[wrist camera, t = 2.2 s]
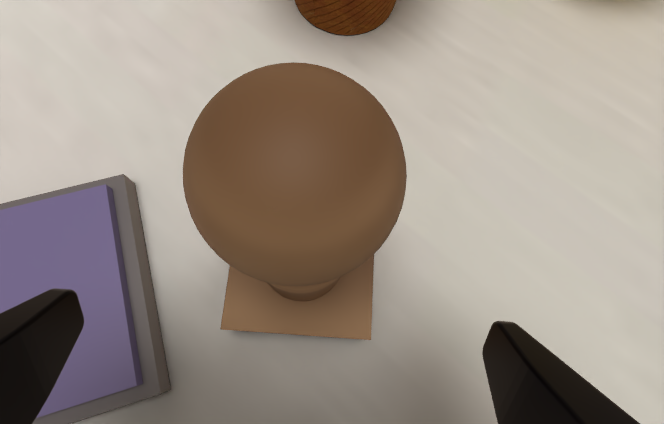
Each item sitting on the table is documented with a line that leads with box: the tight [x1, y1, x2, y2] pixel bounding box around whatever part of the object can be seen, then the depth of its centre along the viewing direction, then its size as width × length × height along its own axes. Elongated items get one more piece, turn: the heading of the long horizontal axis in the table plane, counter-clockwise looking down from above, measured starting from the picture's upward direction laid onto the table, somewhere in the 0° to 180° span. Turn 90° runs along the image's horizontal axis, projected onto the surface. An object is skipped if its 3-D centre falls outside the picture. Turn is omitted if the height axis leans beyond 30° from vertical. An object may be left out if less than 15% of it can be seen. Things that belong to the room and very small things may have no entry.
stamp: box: [183, 63, 407, 340], centre depth 12 cm, size 6×6×14 cm
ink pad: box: [0, 174, 171, 424], centre depth 16 cm, size 10×8×2 cm
